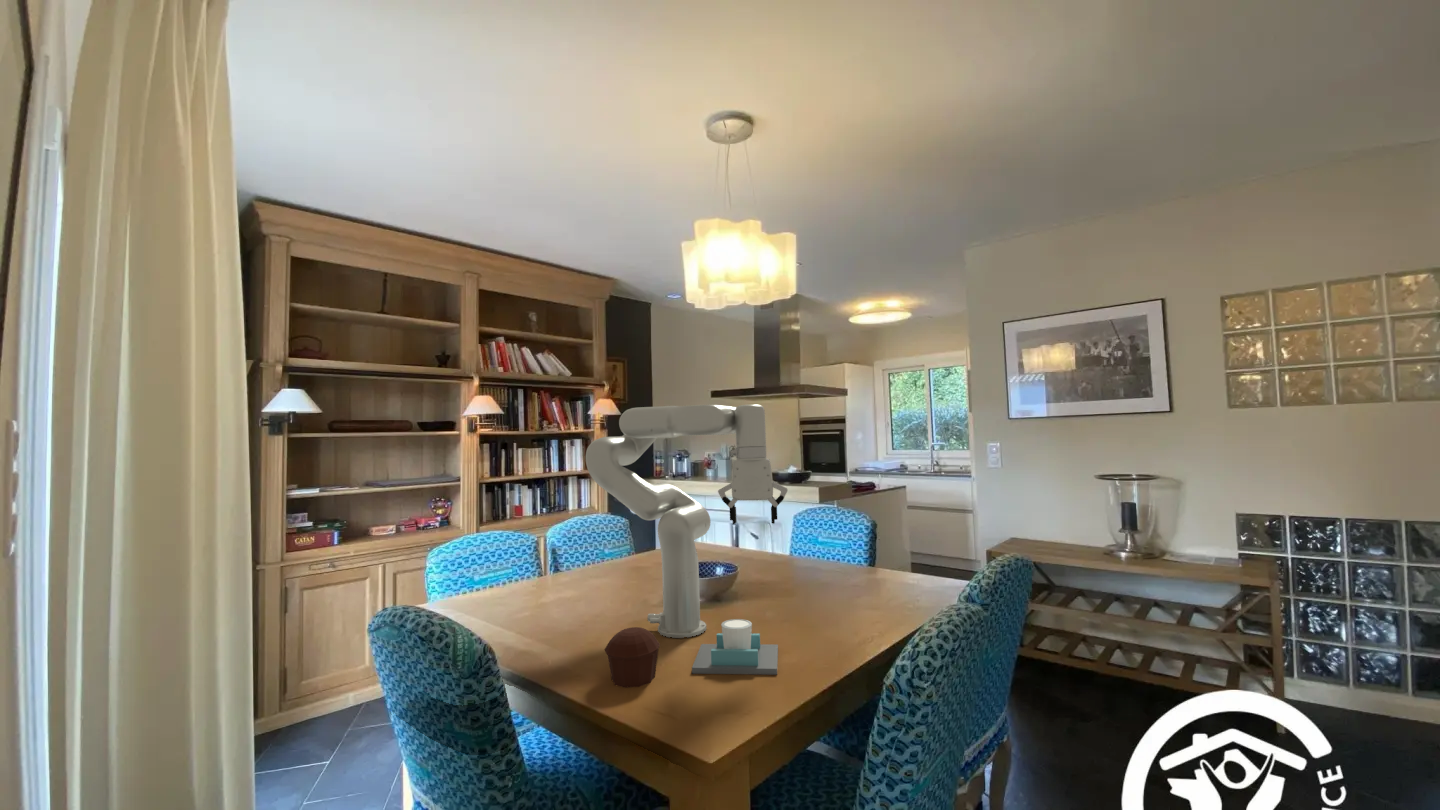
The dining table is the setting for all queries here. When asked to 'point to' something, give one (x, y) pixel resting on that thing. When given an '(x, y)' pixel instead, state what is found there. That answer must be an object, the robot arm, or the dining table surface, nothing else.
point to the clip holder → (736, 658)
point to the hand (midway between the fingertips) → (753, 523)
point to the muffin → (632, 657)
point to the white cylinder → (737, 634)
